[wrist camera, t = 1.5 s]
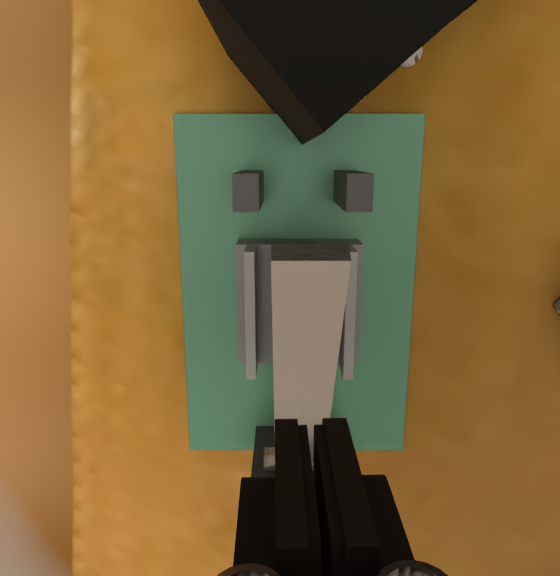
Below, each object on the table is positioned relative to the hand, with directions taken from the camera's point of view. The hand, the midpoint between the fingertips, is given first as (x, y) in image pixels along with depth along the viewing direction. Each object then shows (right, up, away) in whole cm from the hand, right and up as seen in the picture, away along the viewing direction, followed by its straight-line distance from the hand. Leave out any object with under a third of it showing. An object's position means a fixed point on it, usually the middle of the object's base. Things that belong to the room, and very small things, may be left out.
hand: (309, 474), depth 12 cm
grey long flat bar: (+1, 0, +15) cm, 15 cm away
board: (+1, +4, +25) cm, 25 cm away
